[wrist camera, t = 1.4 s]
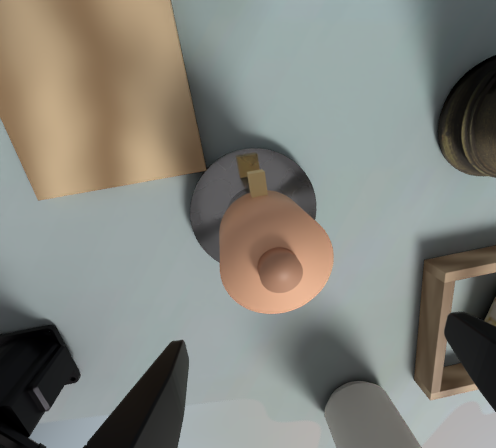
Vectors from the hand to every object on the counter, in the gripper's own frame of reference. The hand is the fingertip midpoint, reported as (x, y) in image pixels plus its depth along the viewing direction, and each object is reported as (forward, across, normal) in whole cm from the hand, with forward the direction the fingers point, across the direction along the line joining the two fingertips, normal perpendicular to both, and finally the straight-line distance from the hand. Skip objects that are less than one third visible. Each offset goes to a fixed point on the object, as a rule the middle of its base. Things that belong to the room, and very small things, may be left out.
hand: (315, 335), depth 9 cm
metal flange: (+14, +1, 0) cm, 14 cm away
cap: (+9, +1, 0) cm, 9 cm away
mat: (+13, +11, -9) cm, 20 cm away
